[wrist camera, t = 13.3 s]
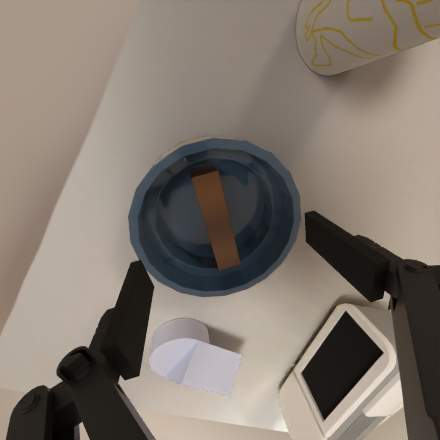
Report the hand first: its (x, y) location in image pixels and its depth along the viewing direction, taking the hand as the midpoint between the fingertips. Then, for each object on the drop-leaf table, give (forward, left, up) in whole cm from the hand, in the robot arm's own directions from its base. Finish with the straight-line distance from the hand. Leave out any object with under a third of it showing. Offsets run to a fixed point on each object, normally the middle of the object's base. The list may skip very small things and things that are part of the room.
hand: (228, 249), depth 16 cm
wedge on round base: (+22, -9, -10) cm, 26 cm away
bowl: (0, 0, -10) cm, 10 cm away
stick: (0, 0, -9) cm, 9 cm away
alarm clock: (+35, +14, -10) cm, 39 cm away
